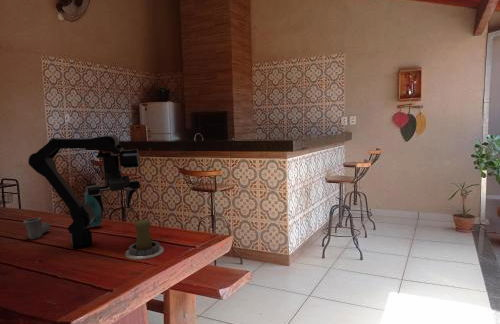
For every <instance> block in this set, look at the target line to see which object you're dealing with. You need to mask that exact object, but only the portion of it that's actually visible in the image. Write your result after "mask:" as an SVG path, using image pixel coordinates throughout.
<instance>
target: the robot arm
mask: <svg viewBox="0 0 500 324" xmlns="http://www.w3.org/2000/svg"><path fill="white" fill-rule="evenodd" d="M62 149H63V150H65V149H92V150H97V151H99V152H98V154H97V155H96V156H95V157H96V158H99V159H100V158H101V159H102V168H103V178H104V185H103V186H102V185H101V186H99V185H98V184H96V185H92V186H87V185H86V187H85V193H86V194H87V195H90V196H92V197H94V198H95V199H96V201H97V202H98V204H99V206H100V209H101V213H104V211H105V209H104V205H103V200H102V194H101V193H102V192H107V191H111V192H116V191H124V190H125V201H126V202H125V204H126V208H127V209H129V208H130V204H131V201H132V198H133V195H134V193H135V192H137V191H138V189H141V182H140V181H139V180H136V179H131V180H130V176H129V175H123V176H122V173H121V168H120V167H123V168H124V169H129V168H130V169H131V168H140V167H141V156H140V154H139V149H138V148H134V149H127V150H126V149H125V148H124V147H123V146H122V145H121V144H120V143H119V139H118V137H116V136H115V135H113V134H108V135H103V136H96V137H92V138H91V137H90V138H88V137H87V138H83V137H81V138H80V137H79V138H77V137H76V138H62V137H61V138H60V137H54V138H51V139H50V140H49V141H48V142H47V143H46V144H45V145H44V146H43V147H40V148H39V149H38V151H36V152H35V153H32V154H30V155H29V157H28V165H29V167H31V169H33V170H34V171H35V172H36V173H38V174H39V175H40V176H42V177H44V178H45V179H46V181H47V182H48V183H49V184H50V186H51V187H52V188H53V189H54V191H55V192H56V194H57V195H58V196H59V197H60V199H61V200H62V201H63V203H64V204H65V206H66V207H67V208H68V210H69V214H70V217H71V219H72V221H73V222H72V223H71V224H70V225H69V226H68V227H67V231H68V232H69V234H70V240H71V243H70V246H71V248H72V249H73V250H76V249H77V250H78V249H82V248H87V247H92V246H93V233H92V231H91V229H90V228H89V227H91V226H90V224H91V222H92V221H94V219H95V213H94V212H93V211H95V210H94V209H92V208H91V206H90V204H89V203H88V202H87V203H86V204H85V202H82V201H81V200H80V199H79V198H78V196H77V195H76V193H74V191H73V189H71V187H70V186H69V184H68V183H67V181H65V179H64V178H63V176H62V175H61V174H60V172H59V171H58V169H57V165H56V161H55V160H54V158H55V157H56V156H57V155H58V153H59V152H60V150H62ZM99 193H100V194H99Z"/></svg>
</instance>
